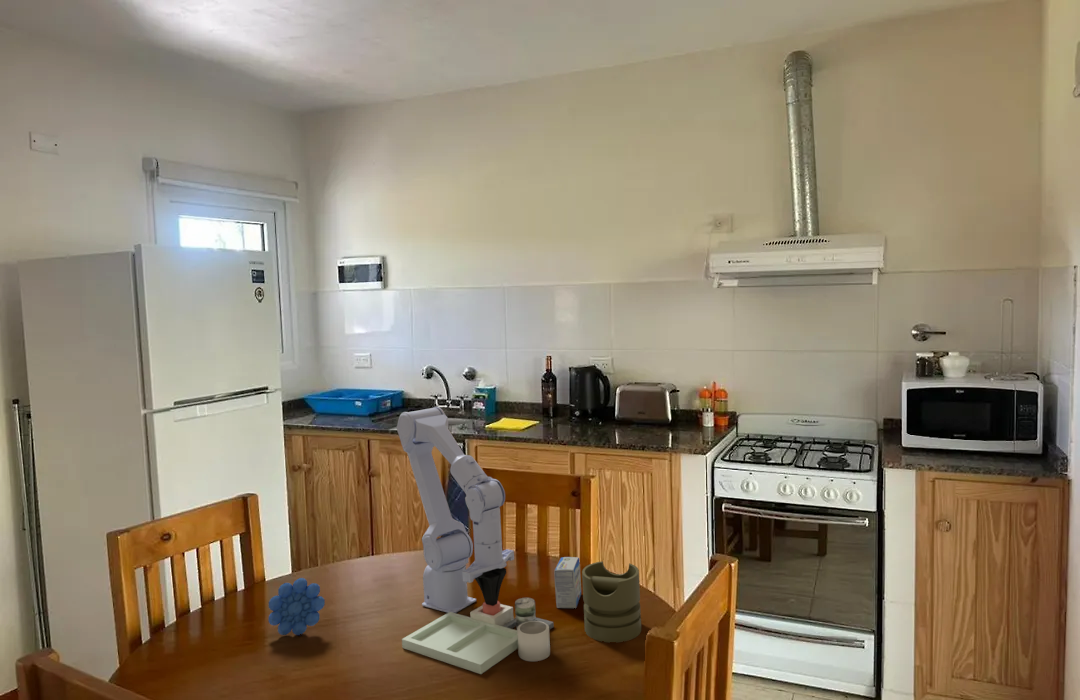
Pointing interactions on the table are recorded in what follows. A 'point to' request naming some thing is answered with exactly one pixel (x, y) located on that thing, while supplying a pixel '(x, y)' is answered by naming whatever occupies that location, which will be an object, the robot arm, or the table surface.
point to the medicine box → (567, 582)
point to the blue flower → (296, 607)
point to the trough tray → (463, 642)
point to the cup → (533, 641)
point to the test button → (491, 609)
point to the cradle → (550, 624)
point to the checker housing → (498, 619)
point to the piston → (611, 603)
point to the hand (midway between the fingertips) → (491, 604)
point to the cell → (524, 610)
